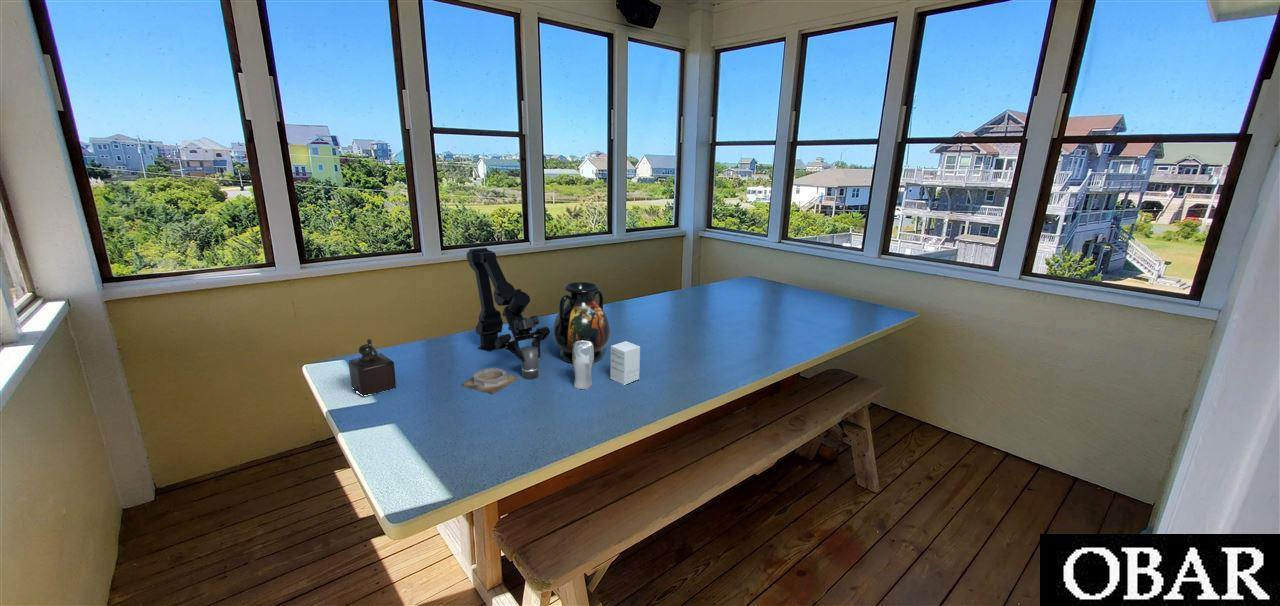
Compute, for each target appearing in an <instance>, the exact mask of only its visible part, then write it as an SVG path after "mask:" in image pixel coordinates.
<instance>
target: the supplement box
mask: <svg viewBox="0 0 1280 606" xmlns="http://www.w3.org/2000/svg"><path fill="white" fill-rule="evenodd" d="M640 362H641V346H639V345H637V344H634V343H632V342H629V341H627V340H626V341H622V342H619V343H616V344H615V343H614V344H613V345H610V374H609V375H610V376H609V377H610V380H611V379H612V380H614V381H617V382H619V383H621V384H623V385H626V384H628V383H631V382H633V381H635V380H638V379H639V380H640V365H641V363H640ZM612 380H611V381H612ZM614 381H613V382H614ZM619 383H618V384H619ZM621 384H620V385H621ZM631 384H632V383H631ZM623 385H622V386H623ZM626 386H627V385H626Z"/></svg>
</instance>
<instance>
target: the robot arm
mask: <svg viewBox="0 0 1280 606" xmlns="http://www.w3.org/2000/svg"><path fill="white" fill-rule="evenodd" d="M466 260H467V262H468V264H469V267H470V268H471V269H472V270H473V272H474V274H475V278H476V284H477V288H478V289H477V291H478V297H479V302H480V307H481V310H480V312H479V315H478V322H477V324H476V326H475V334H477V335H479V336H480V346H478V347H477V349H479V350H482V351H487V352H492V351H495V350H497V351H500V350H506V351H508V352H510V353H511V354H513V355H514V356H515V357H517V358H518V359H519V360H520V362H521V363H522V362H524V361H525V359H524V356H523V354H522V352H521V347H520V346H519V342H521V341H525V340H526V341H527V340H530V339H531V341H532V342H530V344H531V345H530V346H535V347H537V348H538V359H541V341H544V340H546V339H547V337H548V336H549V335H550V333H551V330H550V328H549V327H548V326H541V327H537V328H536V325H540V319H539V317H538V315H532V316H530V318H526V317H524V315H523V313H524V312H525V310H526V308H527V307H528V305H529V304H530V302H531V298H530V295H529V294H528V293H526V292H524V291H522V289H521V288H518V289H516V288H515V287H514V285H513V284H511V283H510V282H508V281H507V278H506V276H505V274H504V273H503V271H502V268H501V266H500V264H499V261H498V260H497V254H496V252H494V251H493V250H491V249H488V248H487V247H480V248H479V247H478V248H469V249H468V252H466ZM491 283H492V286H493V287H494V288H493V289H494V290H493V291H492V286H491ZM494 302H495V303H496V305H497V306H500V307H502V306H503V307H504V308H503V312H502V315H501V311H500V310H497V308H496V307H495V303H494ZM502 317H505V319H506V321H507V326H508V328H507V329H508V331H510V332H511V334H512V335H511V334H509V333H506V334H501V333H502V331H503V324H504V321H503V318H502ZM533 328H536V330H535V331H533ZM532 331H533V332H532ZM499 333H500V334H501V335H499Z"/></svg>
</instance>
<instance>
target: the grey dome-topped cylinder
mask: <svg viewBox="0 0 1280 606" xmlns="http://www.w3.org/2000/svg"><path fill="white" fill-rule="evenodd" d="M520 350H521V352H522V354H523V356H524V359H525V361H524V362H522V361H521V378H523V379H525V380H535V379H537V378H539V376H540V375H539V373H540V372H539V358H538V348H537V347H535V346H532V345H526V346H523V347H520Z"/></svg>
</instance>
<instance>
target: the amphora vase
mask: <svg viewBox="0 0 1280 606" xmlns="http://www.w3.org/2000/svg"><path fill="white" fill-rule="evenodd" d="M563 288H564V290H565V292H568V293H569V294H568V295H567V294H566V295H563V296H561V298H560V300H559V305H558V306H559V307H558V309H559V311H558V312H557V315H556V316H555V319H554V323H553V327H552V337H553V340H554V342H555V345H556V346H557V347H558V348H559V349H560V351H559V356H560V358H561V359H562V360H563V361H565V362H567V363H570V364H571V363H572V364H573V358H572V354H573V343H574V342H576V341H581V340H586V341H591V342H592V343H593V349H594V360H593V363H595V362H597V361H600V359H602V357H603V356H604V350H603V349H604V348H605V347H606V345H607V344H608V343H609V340H610V337H611V326H610V321H609V318H608V316H607V314H606V312H605V311H604V295H603V292H602V291H601V290H600V286H599V285H598V284H597V283H593V282H588V281H587V282H584V281H578V282H569V283H567V284H565V285H564V287H563ZM596 295H598V303H597V302H596V300H595V298H596V297H595V296H596ZM567 299H568V301H567ZM566 301H567V302H566ZM565 302H566V304H565Z"/></svg>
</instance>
